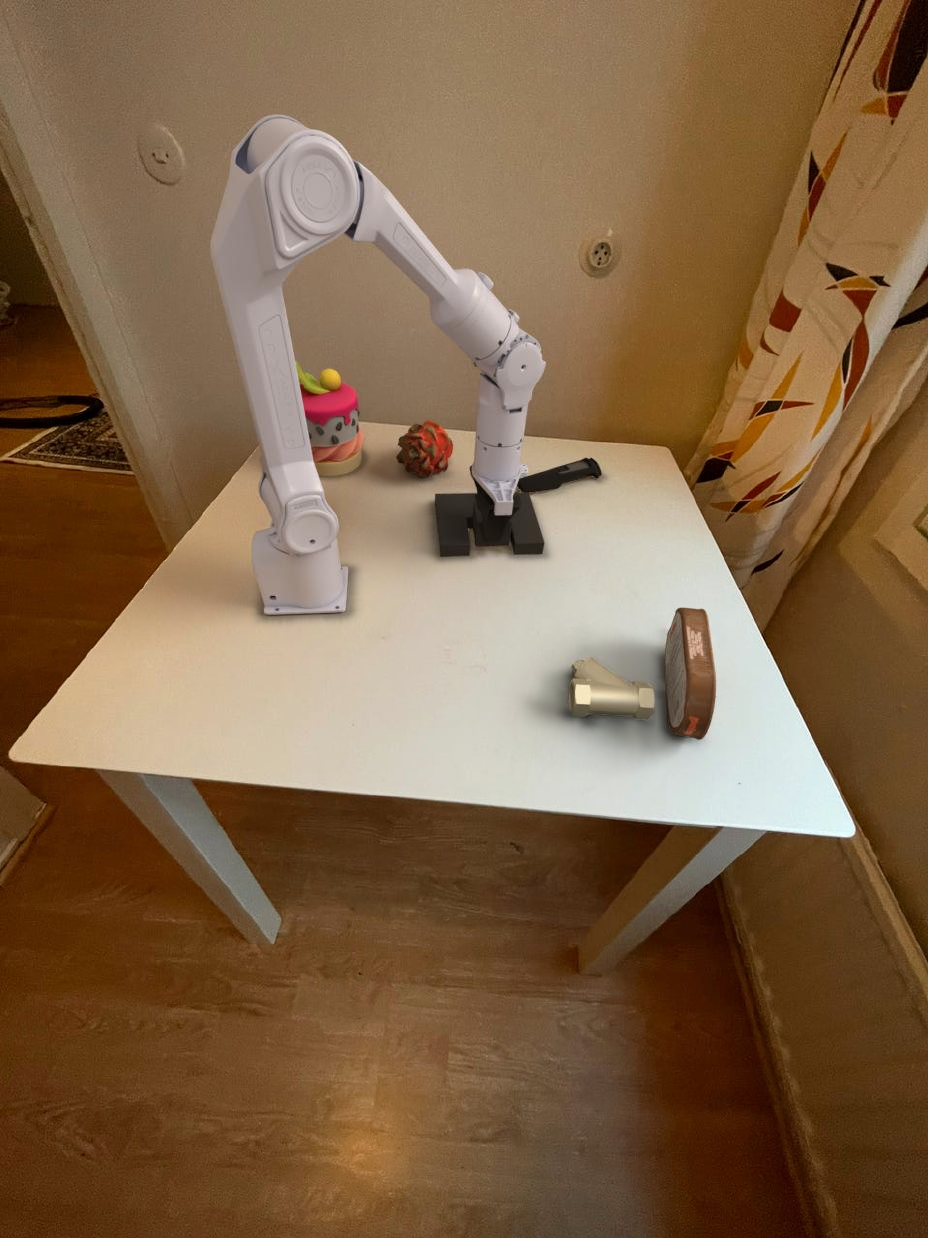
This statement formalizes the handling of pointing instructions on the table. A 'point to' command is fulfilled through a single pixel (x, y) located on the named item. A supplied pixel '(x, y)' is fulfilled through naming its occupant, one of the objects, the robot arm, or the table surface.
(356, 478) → the table surface
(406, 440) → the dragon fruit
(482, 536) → the pad
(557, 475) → the electric trimmer
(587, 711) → the pipe fitting
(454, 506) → the pad base
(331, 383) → the cake
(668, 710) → the tin
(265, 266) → the robot arm
